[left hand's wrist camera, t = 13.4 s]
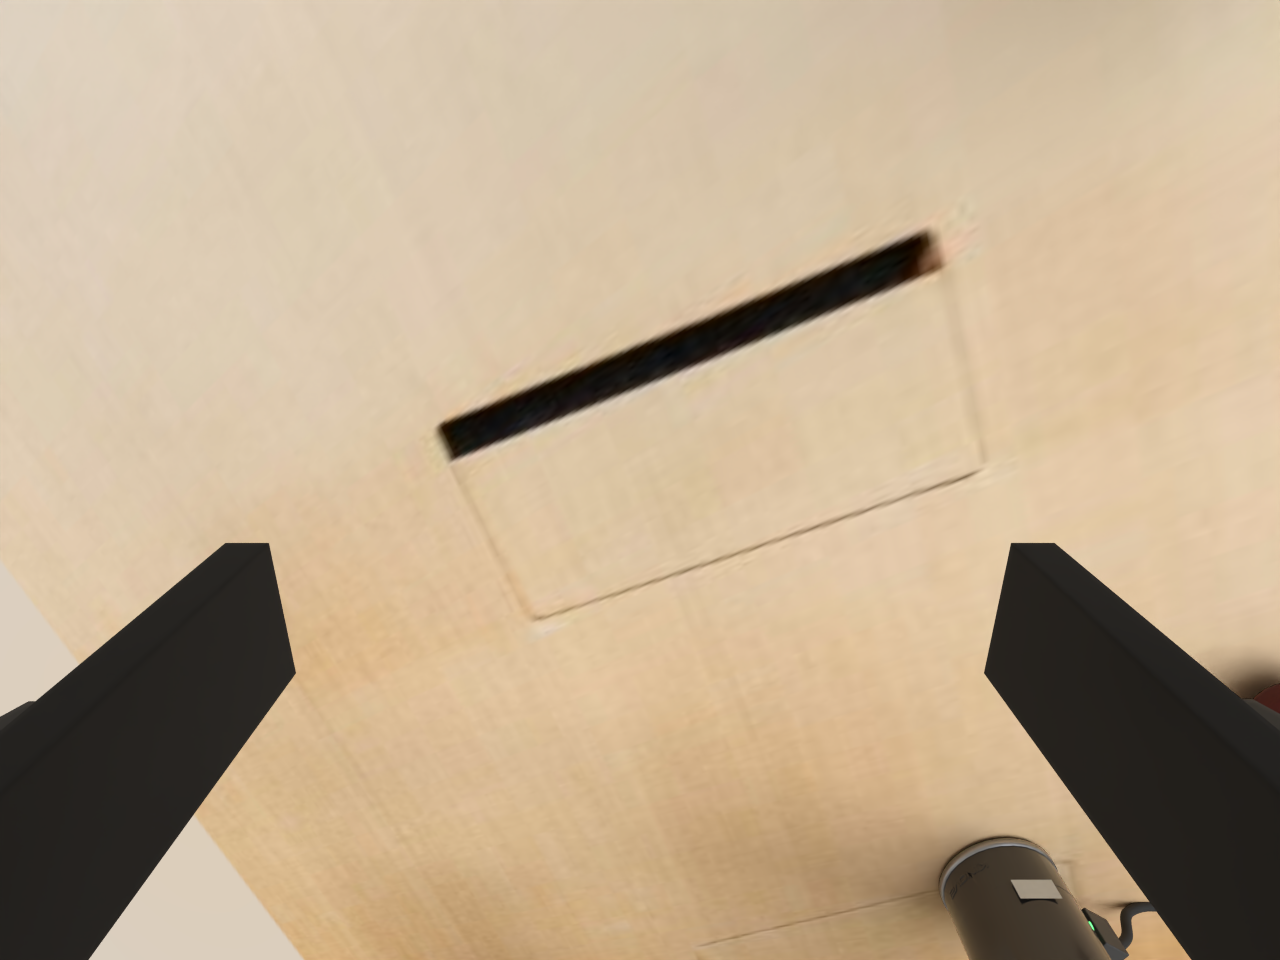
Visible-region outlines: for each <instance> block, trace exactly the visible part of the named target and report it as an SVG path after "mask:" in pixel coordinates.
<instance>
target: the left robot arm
mask: <svg viewBox="0 0 1280 960" xmlns="http://www.w3.org/2000/svg"><path fill="white" fill-rule="evenodd" d="M295 674H296V671H295V667H294V662H293V657H292V652H291V647H290V643H289V638H288V633H287V628H286V623H285V619H284V614H283V609H282V604H281V599H280V595H279V590H278V585H277V580H276V575H275V570H274V566H273V561H272V556H271V551H270V546H269V543H225V544H224V545H223V546H221V547H220V548H219V549H218V550H217V551H215V552H214V553H213V554H212V555H211V556H209V557H208V558H207V559H206V560H205V561H203V562H202V563H201V564H200V565H199V566H197V567H196V568H195V569H194V570H193V571H191V572H190V573H189V574H188V575H187V576H185V577H184V578H183V579H182V580H181V581H179V582H178V583H177V584H176V585H175V586H173V587H172V588H171V589H170V590H169V591H167V592H166V593H165V594H164V595H163V596H161V597H160V598H159V599H158V600H157V601H155V602H154V603H153V604H152V605H151V606H149V607H148V608H147V609H146V610H145V611H143V612H142V613H141V614H140V615H139V616H137V617H136V618H135V619H134V620H133V621H131V622H130V623H129V624H128V625H127V626H125V627H124V628H123V629H122V630H121V631H119V632H118V633H117V634H116V635H115V636H113V637H112V638H111V639H110V640H109V641H107V642H106V643H105V644H104V645H103V646H101V647H100V648H99V649H98V650H97V651H95V652H94V653H93V654H92V655H91V656H89V657H88V658H87V659H86V660H85V661H83V662H82V663H81V664H80V665H79V666H77V667H76V668H75V669H74V670H73V671H71V672H70V673H69V674H68V675H67V676H65V677H64V678H63V679H62V680H61V681H59V682H58V683H57V684H56V685H55V686H53V687H52V688H51V689H50V690H49V691H47V692H46V693H45V694H44V695H43V696H41V697H40V698H39V699H38V700H37V701H29V702H27V703H25V704H23V705H21V706H19V707H17V708H16V709H14V710H12V711H10V712H8V713H6V714H5V715H3V716H1V717H0V960H89V958H90V957H91V956H92V954H93V953H94V951H95V950H96V949H97V947H98V946H99V944H100V943H101V942H102V940H103V939H104V938H105V936H106V935H107V933H108V932H109V931H110V929H111V928H112V927H113V925H114V924H115V922H116V921H117V920H118V918H119V917H120V915H121V914H122V913H123V911H124V910H125V909H126V907H127V906H128V904H129V903H130V902H131V900H132V899H133V897H134V896H135V895H136V893H137V892H138V891H139V889H140V888H141V886H142V885H143V884H144V882H145V881H146V880H147V878H148V877H149V875H150V874H151V873H152V871H153V870H154V868H155V867H156V866H157V864H158V863H159V862H160V860H161V859H162V857H163V856H164V855H165V853H166V852H167V851H168V849H169V848H170V846H171V845H172V844H173V842H174V841H175V839H176V838H177V837H178V835H179V834H180V833H181V831H182V830H183V828H184V827H185V826H186V824H187V823H188V822H189V820H190V819H191V817H192V816H193V815H194V813H195V812H196V810H197V809H198V808H199V806H200V805H201V804H202V802H203V801H204V799H205V798H206V797H207V795H208V794H209V792H210V791H211V790H212V788H213V787H214V786H215V784H216V783H217V781H218V780H219V779H220V777H221V776H222V775H223V773H224V772H225V770H226V769H227V768H228V766H229V765H230V763H231V762H232V761H233V759H234V758H235V757H236V755H237V754H238V752H239V751H240V750H241V748H242V747H243V746H244V744H245V743H246V741H247V740H248V739H249V737H250V736H251V734H252V733H253V732H254V730H255V729H256V728H257V726H258V725H259V723H260V722H261V721H262V719H263V718H264V716H265V715H266V714H267V712H268V711H269V710H270V708H271V707H272V705H273V704H274V703H275V701H276V700H277V699H278V697H279V696H280V694H281V693H282V692H283V690H284V689H285V687H286V686H287V685H288V683H289V682H290V681H291V679H292V678H293V676H294V675H295ZM984 674H985V675H986V676H987V678H988V679H989V681H990V682H991V683H992V685H993V686H994V687H995V689H996V690H997V692H998V693H999V694H1000V696H1001V697H1002V699H1003V700H1004V701H1005V703H1006V704H1007V705H1008V707H1009V708H1010V710H1011V711H1012V712H1013V714H1014V715H1015V716H1016V718H1017V719H1018V721H1019V722H1020V723H1021V725H1022V726H1023V728H1024V729H1025V730H1026V732H1027V733H1028V734H1029V736H1030V737H1031V739H1032V740H1033V741H1034V743H1035V744H1036V746H1037V747H1038V748H1039V750H1040V751H1041V752H1042V754H1043V755H1044V757H1045V758H1046V759H1047V761H1048V762H1049V763H1050V765H1051V766H1052V768H1053V769H1054V770H1055V772H1056V773H1057V775H1058V776H1059V777H1060V779H1061V780H1062V781H1063V783H1064V784H1065V786H1066V787H1067V788H1068V790H1069V791H1070V792H1071V794H1072V795H1073V797H1074V798H1075V799H1076V801H1077V802H1078V804H1079V805H1080V806H1081V808H1082V809H1083V810H1084V812H1085V813H1086V815H1087V816H1088V817H1089V819H1090V820H1091V822H1092V823H1093V824H1094V826H1095V827H1096V828H1097V830H1098V831H1099V833H1100V834H1101V835H1102V837H1103V838H1104V839H1105V841H1106V842H1107V844H1108V845H1109V846H1110V848H1111V849H1112V851H1113V852H1114V853H1115V855H1116V856H1117V857H1118V859H1119V860H1120V862H1121V863H1122V864H1123V866H1124V867H1125V868H1126V870H1127V871H1128V873H1129V874H1130V875H1131V877H1132V878H1133V880H1134V881H1135V882H1136V884H1137V885H1138V886H1139V888H1140V889H1141V891H1142V892H1143V893H1144V895H1145V896H1146V897H1147V899H1148V900H1149V902H1150V903H1151V904H1152V906H1153V907H1154V909H1155V910H1156V911H1157V913H1158V914H1159V915H1160V917H1161V918H1162V920H1163V921H1164V922H1165V924H1166V925H1167V927H1168V928H1169V929H1170V931H1171V932H1172V933H1173V935H1174V936H1175V938H1176V939H1177V940H1178V942H1179V943H1180V944H1181V946H1182V947H1183V949H1184V950H1185V951H1186V953H1187V954H1188V956H1189V957H1190V958H1191V960H1280V714H1279V713H1277V712H1276V711H1274V710H1272V709H1270V708H1268V707H1266V706H1264V705H1263V704H1261V703H1259V702H1257V701H1255V700H1253V699H1241V698H1240V697H1239V696H1237V695H1236V694H1235V693H1234V692H1233V691H1231V690H1230V689H1229V688H1228V687H1227V686H1225V685H1224V684H1223V683H1222V682H1221V681H1219V680H1218V679H1217V678H1216V677H1215V676H1213V675H1212V674H1211V673H1210V672H1209V671H1207V670H1206V669H1205V668H1204V667H1203V666H1201V665H1200V664H1199V663H1198V662H1197V661H1195V660H1194V659H1193V658H1192V657H1191V656H1189V655H1188V654H1187V653H1186V652H1185V651H1183V650H1182V649H1181V648H1180V647H1179V646H1177V645H1176V644H1175V643H1174V642H1173V641H1171V640H1170V639H1169V638H1168V637H1167V636H1165V635H1164V634H1163V633H1162V632H1161V631H1159V630H1158V629H1157V628H1156V627H1155V626H1153V625H1152V624H1151V623H1150V622H1149V621H1147V620H1146V619H1145V618H1144V617H1143V616H1141V615H1140V614H1139V613H1138V612H1137V611H1135V610H1134V609H1133V608H1132V607H1131V606H1129V605H1128V604H1127V603H1126V602H1125V601H1123V600H1122V599H1121V598H1120V597H1119V596H1117V595H1116V594H1115V593H1114V592H1113V591H1111V590H1110V589H1109V588H1108V587H1107V586H1105V585H1104V584H1103V583H1102V582H1101V581H1099V580H1098V579H1097V578H1096V577H1095V576H1093V575H1092V574H1091V573H1090V572H1089V571H1087V570H1086V569H1085V568H1084V567H1083V566H1081V565H1080V564H1079V563H1078V562H1077V561H1075V560H1074V559H1073V558H1072V557H1071V556H1069V555H1068V554H1067V553H1066V552H1065V551H1063V550H1062V549H1061V548H1060V547H1059V546H1057V545H1056V544H1055V543H1011V546H1010V551H1009V556H1008V561H1007V566H1006V570H1005V575H1004V580H1003V585H1002V590H1001V595H1000V599H999V604H998V609H997V614H996V619H995V623H994V628H993V633H992V638H991V643H990V647H989V652H988V657H987V662H986V667H985V671H984Z"/></svg>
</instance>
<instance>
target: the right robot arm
mask: <svg viewBox="0 0 1280 960" xmlns="http://www.w3.org/2000/svg"><path fill="white" fill-rule="evenodd" d="M939 892H940V896H941V898H942V901H943V903H944V905H945V907H946V909H947V910H948V912H949V914H950V916H951V918H952V921H953V923H954V925H955V928H956V930H957V932H958V935H959V937H960V940H961V942H962V944H963V947H964V949H965V951H966V954H967V956H968V958H969V960H1124V959H1125V958H1126V957H1128V956H1129V954H1128V953H1127V951H1126V948H1127V947H1128V946H1129V945H1130V944H1131V942H1132V939H1133V931H1132V925H1131V919H1132V917H1133V916H1134V915H1136V914H1138V913H1141V912H1147V911H1156V910H1155V909H1154V907H1153V906H1152V904H1151V903H1150V902H1137V903H1132V904H1130V905H1128V906H1126V907H1125V908H1124V909H1123V910H1122V911H1121V914H1120V921H1121V929H1122V933H1121V936H1120V937H1119V939H1118V937H1117V935H1116V934H1115V932H1114V931H1113V929H1112V928H1111V926H1110V925H1109V923H1108V922H1107V920H1106V919H1104V918H1102V917H1100V916H1099V915H1097V914H1095V913H1093V912H1091V911H1089V910H1087V909H1086V908H1083V909H1082V910H1081V909H1080V907H1079V906H1078V904H1077V902H1076V900H1075V899H1074V897H1073V896H1072V894H1071V892H1070V891H1069V889H1068V888H1067V886H1066V885H1065V883H1064V881H1063V880H1062V878H1061V877H1060V875H1059V873H1058V871H1057V868H1056V866H1055V864H1054V863H1053V861H1052V859H1051V858H1050V856H1049V855H1048V854H1047V853H1046V851H1045V850H1043V849H1042V848H1041V847H1039V846H1038V845H1036V844H1034V843H1031V842H1029V841H1025V840H1021V839H1015V838H999V839H992V840H987V841H984V842H980V843H978V844H975V845H973V846H971V847H969V848H967V849H965V850H963V851H962V852H960V853H959V854H958V855H956V856H955V857H954V858H953V859H952V860H951V861H950V862H949V863H948V865H947V866H946V867H945V869H944V871H943V873H942V875H941V878H940V882H939ZM1156 912H1157V911H1156Z"/></svg>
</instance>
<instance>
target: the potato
mask: <svg viewBox="0 0 1280 960" xmlns="http://www.w3.org/2000/svg"><path fill="white" fill-rule="evenodd" d="M1253 700H1255V701H1257V702H1259V703H1261V704H1263V705H1264V706H1266V707H1268V708H1270V709H1272V710H1274V711H1276V712H1277V713H1279V714H1280V684H1276V685H1273V686H1271V687H1268V688H1266V689H1264V690H1263V691H1262V692H1260V693H1259V694H1258V695H1256V696H1255V698H1254V699H1253Z"/></svg>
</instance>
